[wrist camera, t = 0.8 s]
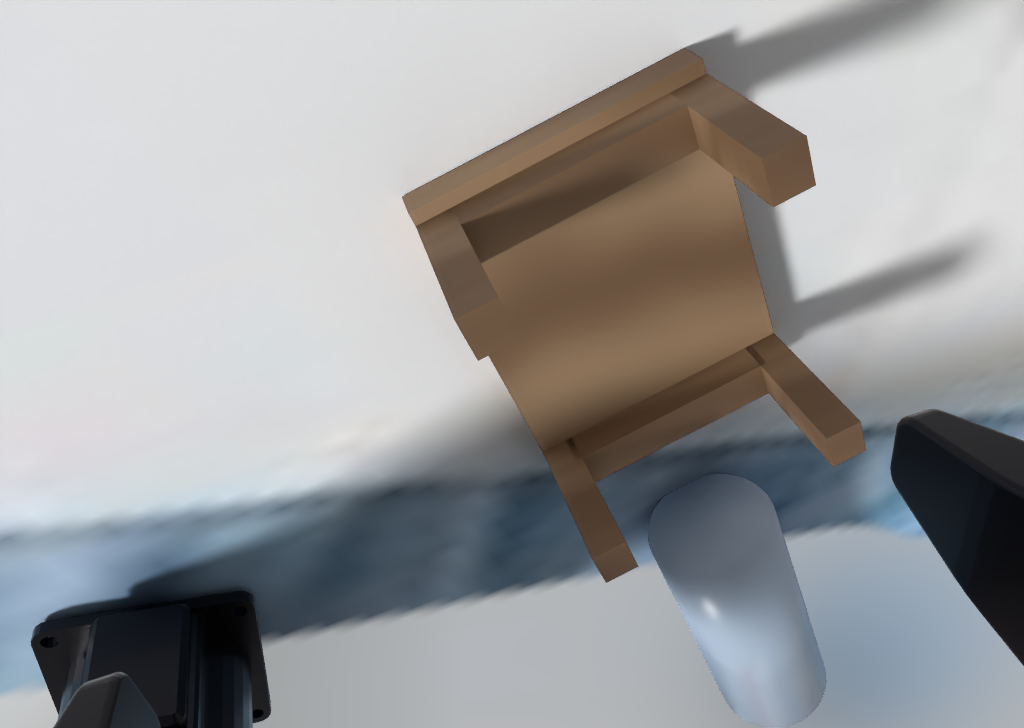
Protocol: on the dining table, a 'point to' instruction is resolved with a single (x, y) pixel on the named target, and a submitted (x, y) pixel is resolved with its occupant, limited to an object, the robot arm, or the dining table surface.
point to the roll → (740, 597)
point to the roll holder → (627, 278)
